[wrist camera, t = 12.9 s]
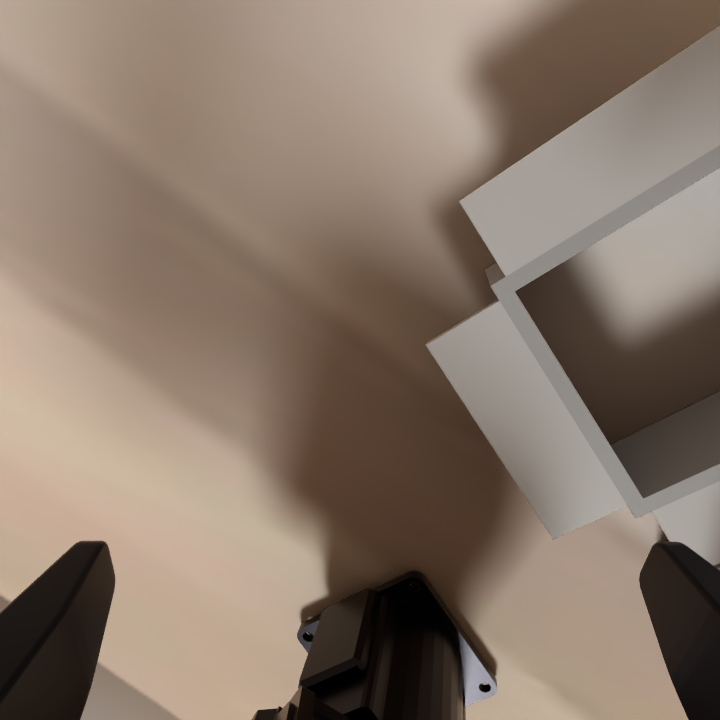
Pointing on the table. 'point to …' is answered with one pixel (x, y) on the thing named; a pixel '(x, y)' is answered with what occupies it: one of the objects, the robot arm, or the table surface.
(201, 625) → the table surface
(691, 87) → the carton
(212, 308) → the table surface
